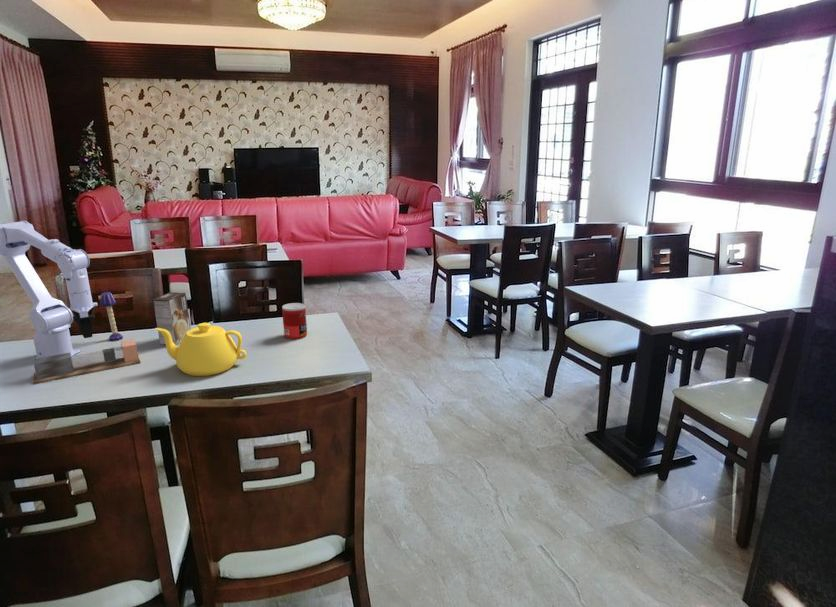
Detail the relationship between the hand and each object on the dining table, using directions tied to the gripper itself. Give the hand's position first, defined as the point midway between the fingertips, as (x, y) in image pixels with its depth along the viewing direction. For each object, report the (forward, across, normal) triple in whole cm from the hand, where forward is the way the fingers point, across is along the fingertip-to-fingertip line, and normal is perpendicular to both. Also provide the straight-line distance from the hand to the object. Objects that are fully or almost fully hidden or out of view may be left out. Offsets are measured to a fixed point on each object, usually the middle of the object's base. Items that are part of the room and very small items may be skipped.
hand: (87, 333), depth 166 cm
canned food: (+10, -12, -61) cm, 63 cm away
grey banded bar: (+8, -5, -1) cm, 9 cm away
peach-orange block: (+9, -5, -10) cm, 14 cm away
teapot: (+10, -23, -28) cm, 38 cm away
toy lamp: (+10, +19, -8) cm, 23 cm away
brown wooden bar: (+9, -5, +1) cm, 11 cm away
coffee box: (+10, +6, -25) cm, 28 cm away
